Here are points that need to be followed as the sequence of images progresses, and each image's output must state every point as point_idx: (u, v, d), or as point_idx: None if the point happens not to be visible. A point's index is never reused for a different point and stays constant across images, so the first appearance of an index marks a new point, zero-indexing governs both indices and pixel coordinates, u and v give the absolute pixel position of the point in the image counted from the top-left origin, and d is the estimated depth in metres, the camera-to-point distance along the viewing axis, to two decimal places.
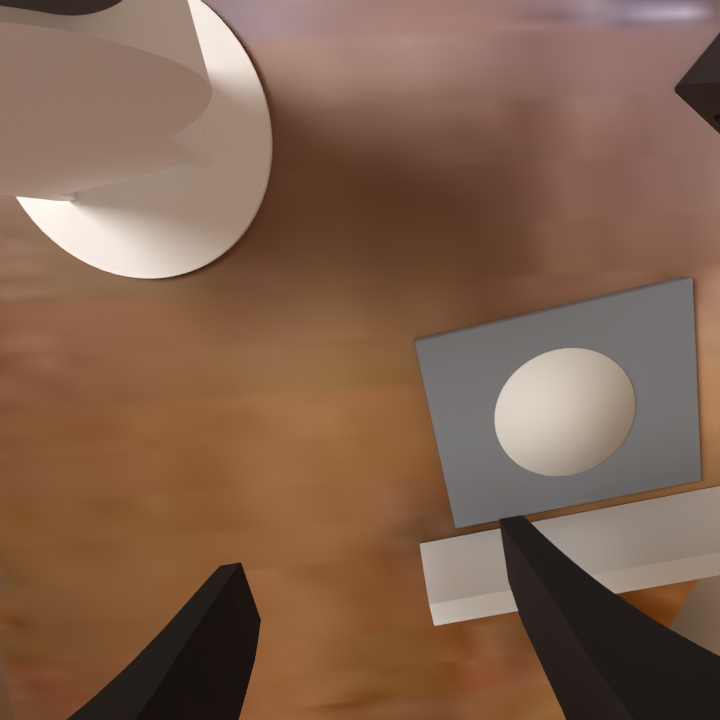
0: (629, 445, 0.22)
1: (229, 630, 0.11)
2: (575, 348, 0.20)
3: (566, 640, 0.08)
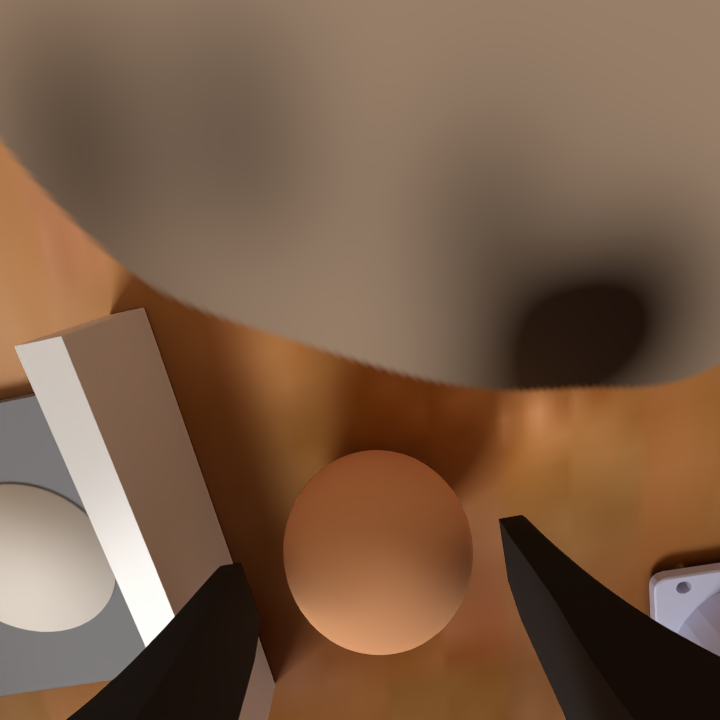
0: (57, 483, 0.16)
1: (229, 630, 0.11)
2: None
3: (566, 640, 0.08)
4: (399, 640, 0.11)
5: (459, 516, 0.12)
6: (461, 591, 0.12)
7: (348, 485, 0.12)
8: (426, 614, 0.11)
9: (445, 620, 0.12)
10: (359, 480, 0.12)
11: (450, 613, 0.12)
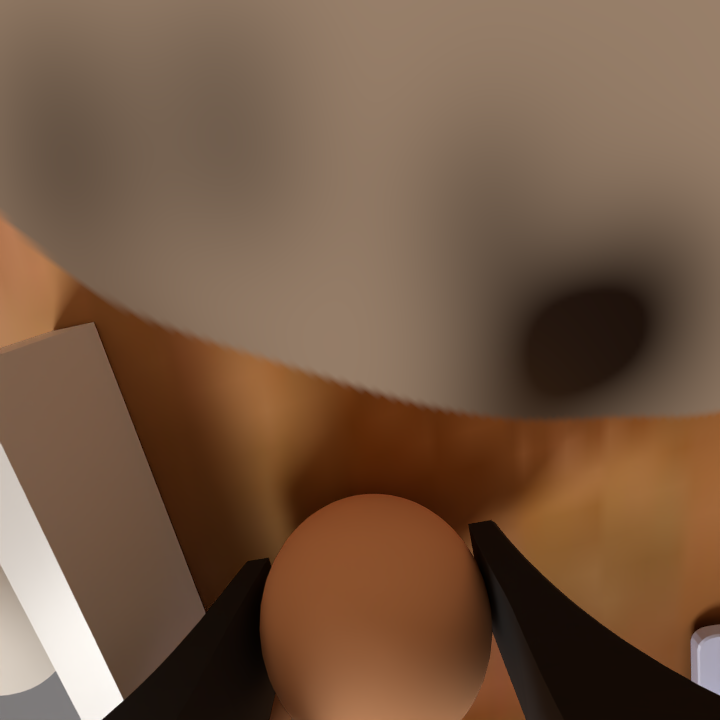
0: None
1: None
2: None
3: (521, 647, 0.08)
4: None
5: (476, 583, 0.10)
6: (480, 681, 0.09)
7: (338, 548, 0.10)
8: (436, 718, 0.09)
9: (460, 718, 0.09)
10: (352, 541, 0.10)
11: (466, 709, 0.09)
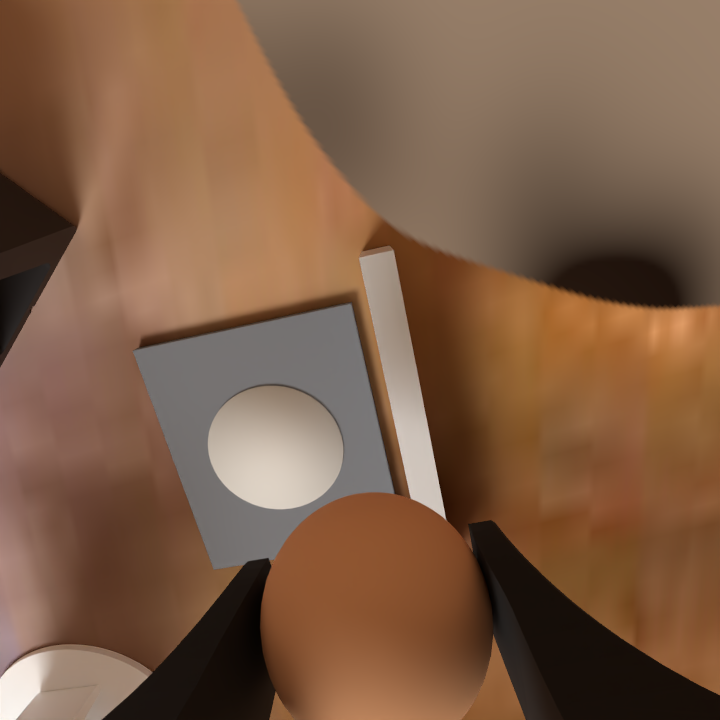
0: (308, 385, 0.21)
1: None
2: (208, 445, 0.21)
3: (521, 646, 0.08)
4: None
5: (477, 582, 0.10)
6: (480, 679, 0.09)
7: (339, 546, 0.10)
8: (438, 717, 0.09)
9: (461, 717, 0.09)
10: (353, 539, 0.10)
11: (467, 708, 0.09)
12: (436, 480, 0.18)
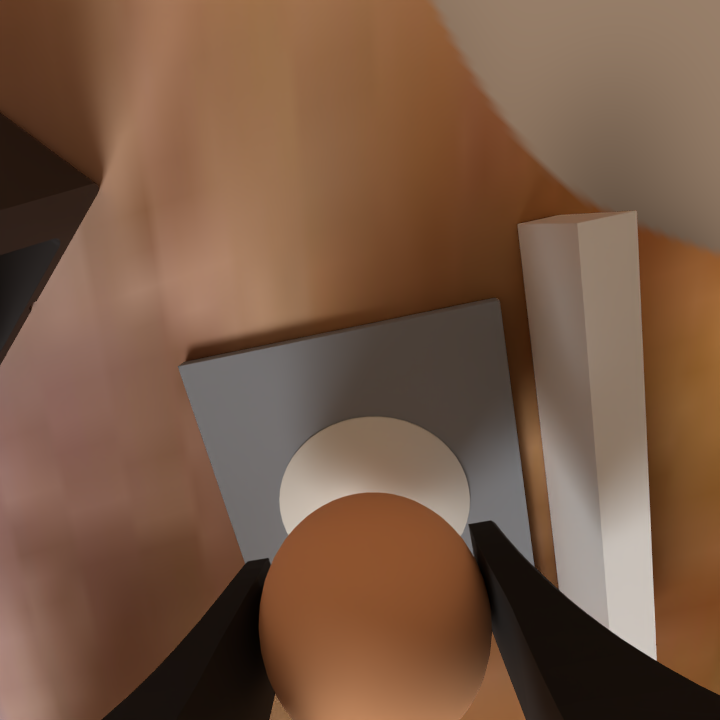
0: (427, 415, 0.14)
1: None
2: (279, 498, 0.15)
3: (521, 646, 0.08)
4: None
5: (475, 582, 0.10)
6: (479, 680, 0.09)
7: (337, 546, 0.10)
8: (436, 717, 0.09)
9: (459, 718, 0.09)
10: (351, 539, 0.10)
11: (465, 709, 0.09)
12: (649, 568, 0.12)
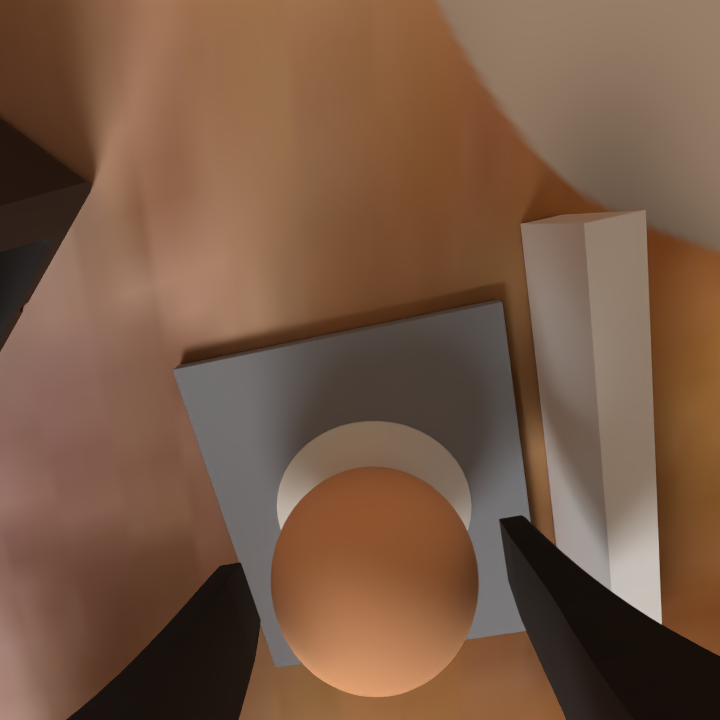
0: (428, 420, 0.14)
1: (229, 630, 0.11)
2: (276, 503, 0.15)
3: (566, 640, 0.08)
4: (397, 683, 0.10)
5: (464, 543, 0.11)
6: (466, 627, 0.11)
7: (341, 509, 0.11)
8: (427, 655, 0.10)
9: (448, 659, 0.11)
10: (353, 503, 0.11)
11: (454, 651, 0.11)
12: (657, 577, 0.11)
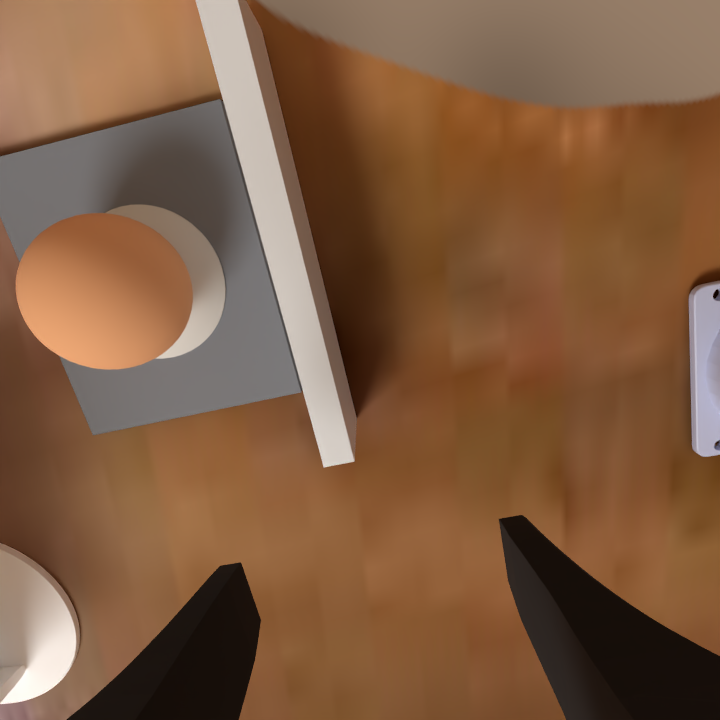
0: (179, 203, 0.18)
1: (229, 630, 0.11)
2: None
3: (566, 640, 0.08)
4: (85, 328, 0.14)
5: (156, 251, 0.15)
6: (148, 302, 0.15)
7: (61, 221, 0.15)
8: (103, 305, 0.14)
9: (132, 323, 0.15)
10: (70, 217, 0.15)
11: (136, 318, 0.15)
12: (306, 280, 0.15)
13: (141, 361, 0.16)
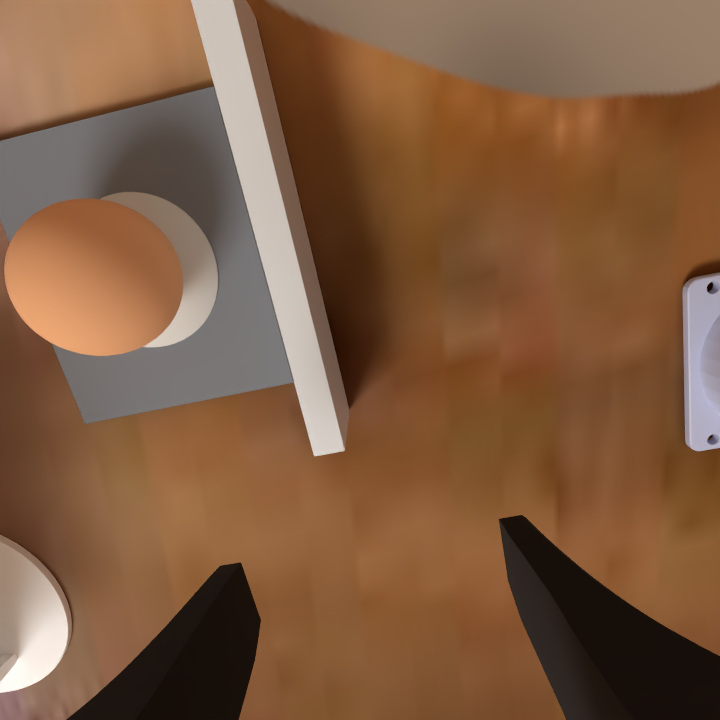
0: (172, 191, 0.18)
1: (229, 630, 0.11)
2: None
3: (566, 640, 0.08)
4: (71, 313, 0.14)
5: (145, 236, 0.15)
6: (135, 288, 0.15)
7: (50, 205, 0.15)
8: (89, 289, 0.14)
9: (118, 308, 0.15)
10: (59, 202, 0.15)
11: (123, 303, 0.15)
12: (297, 267, 0.15)
13: (129, 348, 0.16)
